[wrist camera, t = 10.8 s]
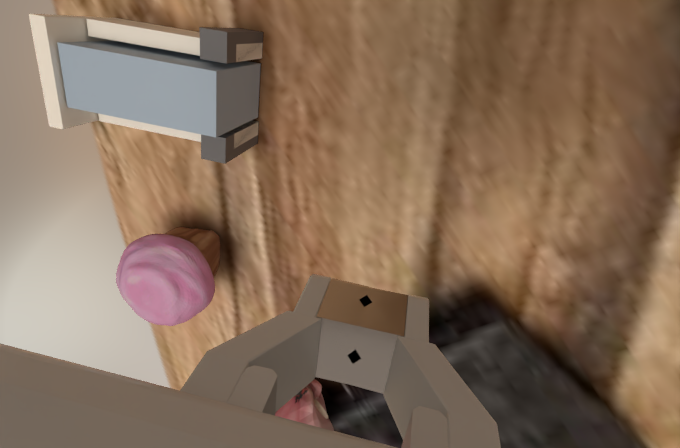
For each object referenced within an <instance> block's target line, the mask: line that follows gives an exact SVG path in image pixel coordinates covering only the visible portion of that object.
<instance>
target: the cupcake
mask: <svg viewBox="0 0 680 448" xmlns="http://www.w3.org/2000/svg"><path fill="white" fill-rule="evenodd" d="M219 263H220V238H219V236H218V235H217V234H216V233H215V232H214V231H210V230H202V229H190V228H186V227H178V228H175V229H173V230H171V231H169V232H167V233H166V234H151V235H146V236H144V237H141V238H139V239H137V240H135V241H133V242H132V243H131V244H129V245H128V247H127V248H126V249H125V250H124V252H123V255H122V257H121V260H120V263H119V265H118V269H117V273H116V277H117V278H116V283H117V286H118V288H119V291H120V293H121V295H122V297H123V298H124V300H125V301H126V302H127V303H128V304H129V305H130V307H131V308H132V309H133V310H134V311H135V313H136V314H137V315H139V316H140V317H142V318H143V319H144V320H146V321H148V322H151V323H154V324H158V325H168V326H173V325H177V324H180V323H183V322H186V321H188V320H189V319H191V318H192V317H194V316H195V315H196V314H198V313H199V312H201V311H202V310H204V309H205V308H206V307H207V306H208V305H209V303H210V302H211V300H212V298H213V295H214V291H215V283H214V276H215V274H216V272H217V269H218V267H219Z"/></svg>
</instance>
